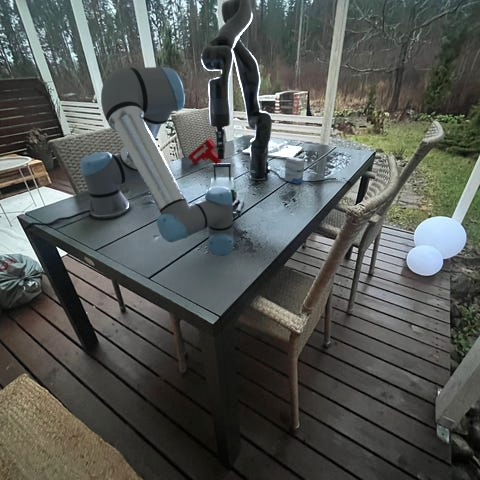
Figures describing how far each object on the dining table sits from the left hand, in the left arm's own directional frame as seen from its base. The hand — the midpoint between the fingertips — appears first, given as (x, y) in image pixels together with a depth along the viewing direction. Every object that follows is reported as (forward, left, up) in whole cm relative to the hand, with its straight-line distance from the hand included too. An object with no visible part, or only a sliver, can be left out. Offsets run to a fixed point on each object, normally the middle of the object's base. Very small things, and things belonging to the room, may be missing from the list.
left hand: (222, 195), depth 111 cm
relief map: (+35, +93, -7) cm, 100 cm away
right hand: (0, +7, +14) cm, 16 cm away
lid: (0, +3, +3) cm, 4 cm away
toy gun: (-12, +67, -7) cm, 68 cm away
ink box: (+37, +33, -7) cm, 50 cm away
